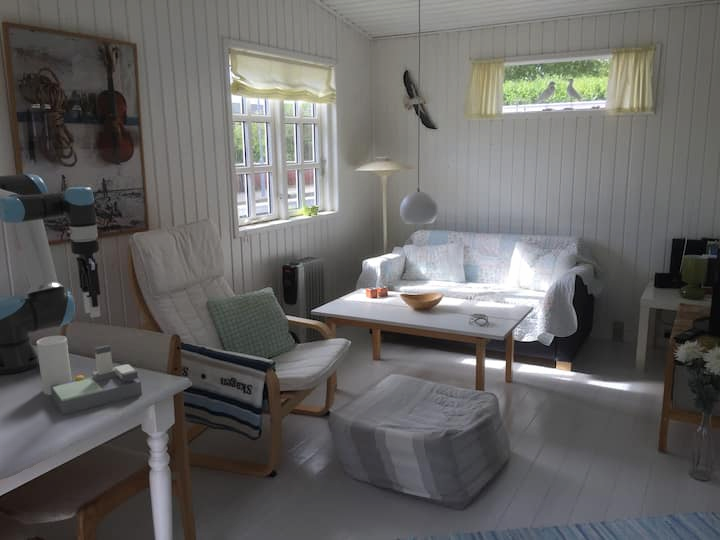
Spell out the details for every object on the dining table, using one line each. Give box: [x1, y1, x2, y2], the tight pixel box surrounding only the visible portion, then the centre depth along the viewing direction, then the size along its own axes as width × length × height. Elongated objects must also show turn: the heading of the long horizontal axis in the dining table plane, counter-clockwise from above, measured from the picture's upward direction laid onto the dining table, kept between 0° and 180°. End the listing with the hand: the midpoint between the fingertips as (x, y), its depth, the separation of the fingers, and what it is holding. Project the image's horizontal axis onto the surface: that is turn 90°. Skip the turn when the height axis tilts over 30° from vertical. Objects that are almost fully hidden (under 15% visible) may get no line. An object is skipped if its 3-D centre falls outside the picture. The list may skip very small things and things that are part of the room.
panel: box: [50, 363, 143, 415], centre depth 188 cm, size 14×22×7 cm, turn 128°
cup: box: [36, 335, 73, 396], centre depth 193 cm, size 8×8×16 cm
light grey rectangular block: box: [94, 344, 114, 375], centre depth 190 cm, size 2×4×8 cm, turn 128°
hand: (92, 314), depth 193 cm, fingers open, 5 cm apart
